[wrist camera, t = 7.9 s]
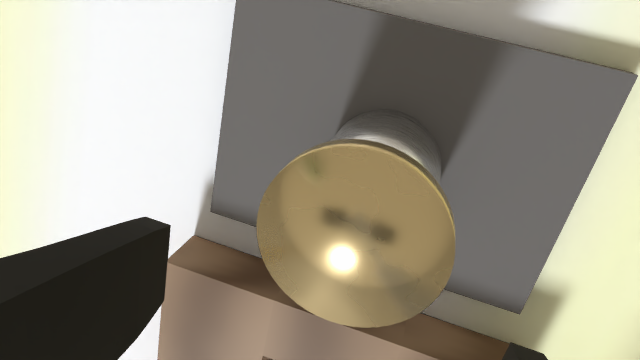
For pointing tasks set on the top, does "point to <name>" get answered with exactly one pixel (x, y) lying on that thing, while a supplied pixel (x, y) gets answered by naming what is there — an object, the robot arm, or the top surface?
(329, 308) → the gold rounded piece
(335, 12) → the mat
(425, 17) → the top surface
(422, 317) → the housing
